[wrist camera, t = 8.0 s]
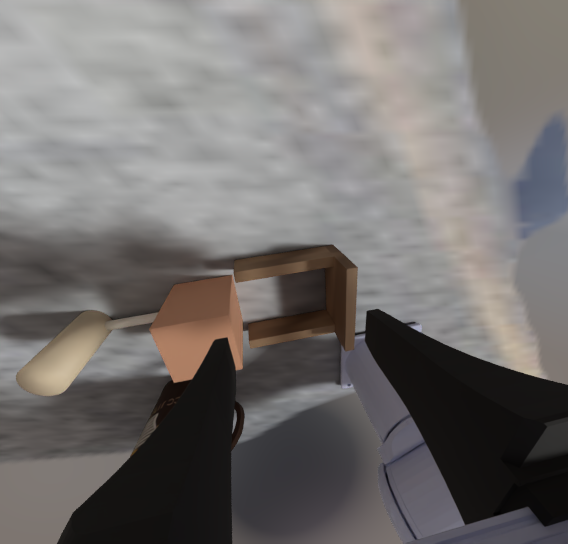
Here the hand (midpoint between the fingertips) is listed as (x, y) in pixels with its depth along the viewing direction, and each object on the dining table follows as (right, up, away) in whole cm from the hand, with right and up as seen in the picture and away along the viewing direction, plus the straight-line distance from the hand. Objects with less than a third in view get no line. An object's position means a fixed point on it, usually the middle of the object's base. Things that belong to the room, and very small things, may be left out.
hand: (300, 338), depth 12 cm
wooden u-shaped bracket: (-1, +2, +10) cm, 10 cm away
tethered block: (-12, 0, +9) cm, 15 cm away
